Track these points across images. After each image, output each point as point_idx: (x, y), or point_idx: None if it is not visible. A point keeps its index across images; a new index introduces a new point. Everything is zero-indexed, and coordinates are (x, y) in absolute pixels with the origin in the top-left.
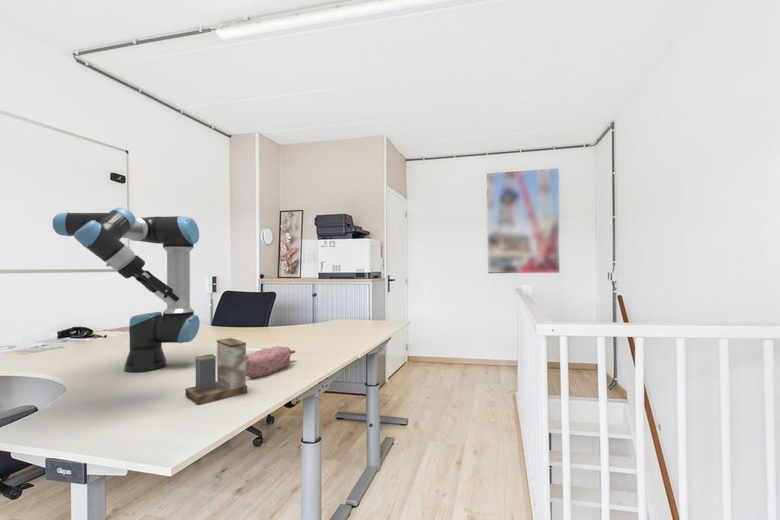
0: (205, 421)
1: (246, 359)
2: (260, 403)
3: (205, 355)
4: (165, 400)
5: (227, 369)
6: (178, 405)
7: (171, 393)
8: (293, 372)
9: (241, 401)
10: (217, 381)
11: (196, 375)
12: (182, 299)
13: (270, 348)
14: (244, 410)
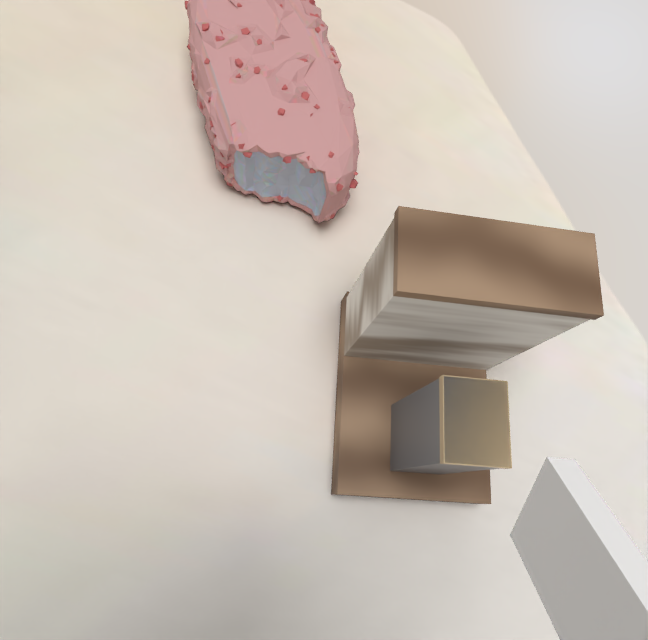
0: (643, 550)
1: (269, 161)
2: (600, 346)
3: (452, 410)
4: (324, 578)
5: (482, 347)
6: (426, 559)
7: (247, 524)
8: (369, 82)
9: (542, 377)
10: (345, 355)
11: (423, 468)
12: (626, 540)
13: (222, 8)
14: (627, 414)
